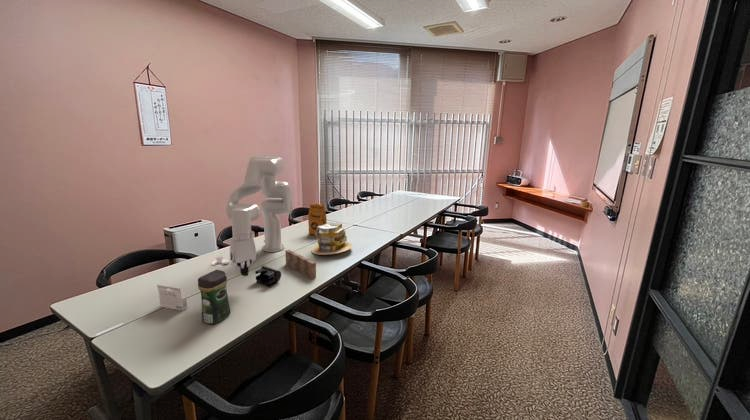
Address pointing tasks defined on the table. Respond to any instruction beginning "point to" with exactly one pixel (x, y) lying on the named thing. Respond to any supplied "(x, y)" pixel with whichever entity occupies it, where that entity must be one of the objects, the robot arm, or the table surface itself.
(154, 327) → the table surface
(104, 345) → the table surface
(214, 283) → the coffee jar
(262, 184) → the robot arm
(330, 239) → the stacked tins on plate
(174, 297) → the ink cartridge box
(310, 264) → the walnut board
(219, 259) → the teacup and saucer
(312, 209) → the coffee package
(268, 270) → the end cap
